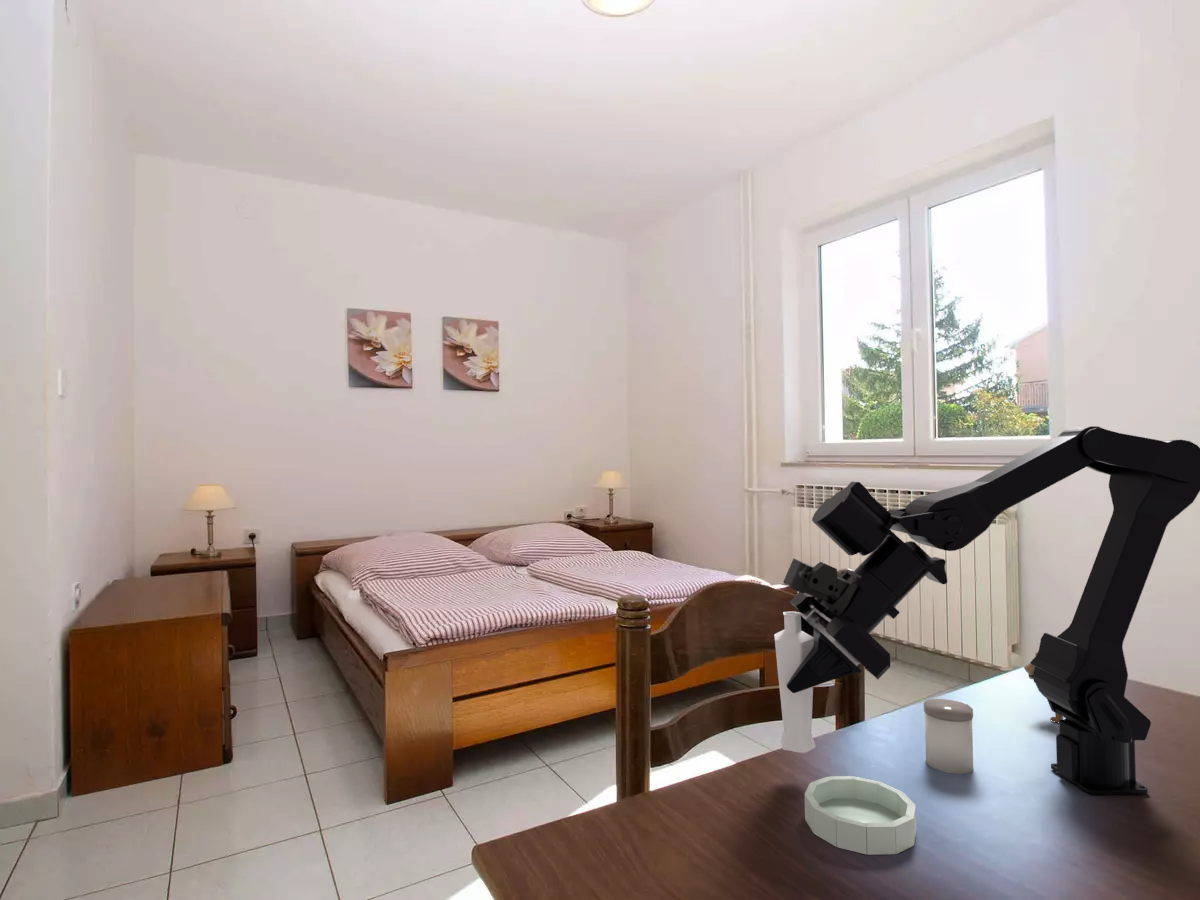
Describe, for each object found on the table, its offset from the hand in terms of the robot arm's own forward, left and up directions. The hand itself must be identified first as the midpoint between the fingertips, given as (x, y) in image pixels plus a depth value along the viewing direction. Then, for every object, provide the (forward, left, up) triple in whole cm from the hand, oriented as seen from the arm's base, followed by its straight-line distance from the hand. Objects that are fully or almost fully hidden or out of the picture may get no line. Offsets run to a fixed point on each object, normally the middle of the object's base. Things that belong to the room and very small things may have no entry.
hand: (784, 682), depth 77 cm
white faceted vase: (-1, 0, -7) cm, 7 cm away
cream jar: (-20, -3, -11) cm, 23 cm away
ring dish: (-4, +10, -11) cm, 15 cm away
